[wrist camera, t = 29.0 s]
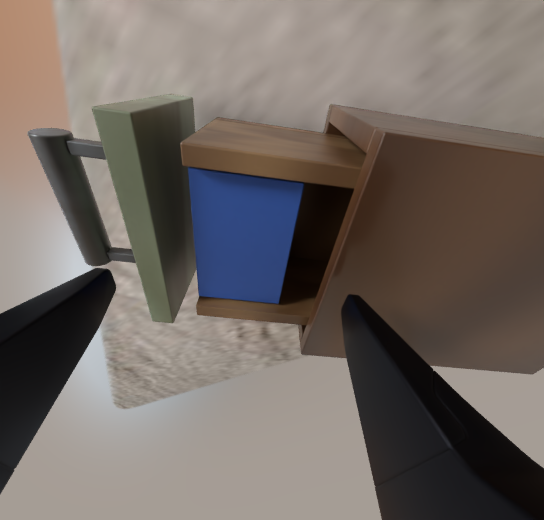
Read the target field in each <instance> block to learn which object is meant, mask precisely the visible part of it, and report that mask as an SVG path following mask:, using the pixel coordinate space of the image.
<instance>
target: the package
mask: <svg viewBox="0 0 544 520" xmlns="http://www.w3.org/2000/svg"><path fill="white" fill-rule="evenodd" d="M188 176H189V187H190V199H191V210H192V222H193V233H194V245H195V256H196V268H197V279H198V291H199V296H204V297H214V298H224V299H234V300H244V301H254V302H264V303H274V304H279V301H280V296H281V291H282V287H283V282H284V277H285V273H286V268H287V263H288V259H289V254H290V250H291V245H292V240H293V236H294V231H295V226H296V222H297V217H298V212H299V208H300V203H301V199H302V194H303V189H304V182H298V181H291V180H283V179H276V178H268V177H261V176H254V175H246V174H239V173H231V172H224V171H216V170H209V169H202V168H194V167H189V168H188Z"/></svg>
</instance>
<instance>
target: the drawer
mask: <svg viewBox="0 0 544 520" xmlns="http://www.w3.org/2000/svg"><path fill="white" fill-rule="evenodd" d="M92 111H93V114H94V118H95V121H96V125H97V128H98V132H99V135H100V139H101V142H98V141H91V140H84V139H76V138H74V137H73V134H72V133H71V132H70V131H68V130H64V129H57V128H41V129H33V130H30V131H28V136H29V138H30V140H31V142H32V145H33V147H34V149H35V151H36V154H37V156H38V158H39V160H40V163H41V164H42V167H43V169H44V171H45V174H46V176H47V178H48V180H49V182H50V185H51V187H52V189H53V191H54V194H55V196H56V198H57V200H58V202H59V205H60V207H61V209H62V211H63V214H64V216H65V218H66V220H67V222H68V225H69V227H70V229H71V231H72V233H73V236H74V238H75V240H76V242H77V245H78V247H79V249H80V251H81V253H82V256H83V258H84V260H85V262H86V263H87V264H88V265H91V266H101V265H105V264H107V263H109V262H111V261H112V260H113V261H122V262H132V263H136V265H137V268H138V272H139V275H140V279H141V282H142V286H143V290H144V293H145V297H146V300H147V304H148V307H149V311H150V314H151V318H152V321H155V322H165V323H174V321H175V318H176V316H177V313H178V311H179V309H180V306H181V304H182V302H183V299H184V297H185V294H186V292H187V290H188V287H189V285H190V282H191V280H192V278H193V275H194V273H195V271H196V256H195V245H194V233H193V222H192V210H191V199H190V187H189V176H188V168H189V167H194V168H202V169H209V170H216V171H224V172H231V173H239V174H246V175H254V176H261V177H268V178H276V179H283V180H291V181H298V182H304V189H303V194H302V199H301V203H300V208H299V212H298V217H297V222H296V226H295V231H294V236H293V240H292V245H291V250H290V254H289V259H288V263H287V268H286V273H285V277H284V282H283V287H282V291H281V296H280V301H279V304H274V303H264V302H254V301H244V300H234V299H224V298H214V297H204V296H199V299H198V302H197V305H196V309H197V315H203V316H214V317H224V318H235V319H245V320H256V321H267V322H277V323H288V324H298V325H307V322H308V320H309V317H310V314H311V311H312V308H313V305H314V302H315V300H316V297H317V294H318V291H319V288H320V285H321V283H322V280H323V277H324V274H325V271H326V268H327V265H328V263H329V260H330V257H331V254H332V251H333V248H334V246H335V243H336V240H337V237H338V234H339V231H340V228H341V226H342V223H343V220H344V217H345V214H346V211H347V209H348V206H349V203H350V200H351V197H352V194H353V191H354V189H355V186H356V183H357V180H358V177H359V174H360V172H361V169H362V166H363V163H364V160H365V157H366V153H365V152H364V151H363V150H361V149H360V148H359V147H358V146H357V145H356V144H354V143H353V142H352V141H351V140H350V139H349V138H347V137H346V136H340V135H333V134H326V133H319V132H313V131H306V130H299V129H293V128H286V127H279V126H273V125H266V124H259V123H253V122H246V121H239V120H233V119H226V118H219V117H218V118H216V119H215V120H213V121H211V122H210V123H209V124H207V125H206V126H204V127H203V128H201V129H200V130H198V131H197V132H195V122H194V106H193V98H192V97H187V96H181V95H174V94H168V95H162V96H156V97H150V98H144V99H137V100H131V101H125V102H119V103H112V104H106V105H100V106H94V107H92ZM80 156H83V157H90V158H98V159H105V160H107V163H108V167H109V170H110V174H111V177H112V181H113V184H114V188H115V191H116V195H117V198H118V202H119V205H120V209H121V212H122V216H123V219H124V223H125V226H126V230H127V233H128V237H129V240H130V244H131V247H132V249H124V248H115V247H111V244H110V241H109V238H108V235H107V232H106V229H105V227H104V224H103V221H102V218H101V215H100V212H99V209H98V206H97V203H96V201H95V198H94V195H93V192H92V189H91V186H90V183H89V180H88V178H87V175H86V172H85V169H84V166H83V163H82V160H81V157H80Z"/></svg>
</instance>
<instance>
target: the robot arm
mask: <svg viewBox="0 0 544 520" xmlns="http://www.w3.org/2000/svg"><path fill="white" fill-rule="evenodd" d="M115 291H116V284H115V281H114V279H113V276H112V273H111V271H110V270H109V269H103V268H95V269H93V270H91V271H89V272H87V273H85V274H83V275H81V276H78V277H76V278H74V279H72V280H70V281H68V282H66V283H64V284H62V285H60V286H57V287H55V288H54V289H51V290H49V291H47V292H45V293H43V294H41V295H39V296H37V297H34V298H32V299H30V300H28V301H26V302H24V303H22V304H20V305H18V306H16V307H14V308H11V309H9V310H7V311H5V312H3V313H1V314H0V494H1V492H2V490H3V489H4V487H5V485H6V484H7V482H8V480H9V479H10V477H11V475H12V474H13V472H14V469H15V468H16V467H17V465H18V463H19V461H20V460H21V458H22V456H23V455H24V453H25V451H26V450H27V448H28V446H29V444H30V443H31V441H32V440H33V438H34V436H35V434H36V433H37V431H38V429H39V428H40V426H41V424H42V423H43V421H44V419H45V418H46V416H47V414H48V412H49V411H50V409H51V408H52V406H53V404H54V402H55V401H56V399H57V397H58V395H59V394H60V392H61V391H62V389H63V387H64V385H65V384H66V382H67V381H68V379H69V377H70V375H71V374H72V372H73V370H74V369H75V367H76V365H77V364H78V362H79V360H80V358H81V357H82V355H83V354H84V352H85V350H86V348H87V347H88V345H89V343H90V342H91V340H92V338H93V337H94V335H95V333H96V331H97V330H98V328H99V326H100V324H101V322H102V320H103V318H104V315H105V313H106V311H107V309H108V306H109V304H110V302H111V300H112V298H113V295H114V293H115ZM341 318H342V328H343V338H344V347H345V353H346V358H347V362H348V367H349V371H350V375H351V380H352V384H353V389H354V394H355V398H356V403H357V407H358V411H359V417H360V421H361V426H362V430H363V434H364V439H365V444H366V448H367V453H368V457H369V462H370V467H371V471H372V475H373V480H374V485H375V486H376V487H375V490H376V494H377V499H378V503H379V508H380V513H381V517H382V520H544V468H543V467H541V466H540V465H538V464H537V463H536V462H534V461H533V460H532V459H531V458H530V457H528V456H527V455H526V454H525V453H524V452H522V451H521V450H520V449H519V448H518V447H517V446H516V445H515V444H513V443H512V442H511V441H510V440H509V439H508V438H507V437H506V436H504V435H503V434H502V433H501V432H500V431H499V430H498V429H497V428H495V427H494V426H493V425H492V424H491V423H490V422H489V421H487V420H486V419H485V418H484V417H483V416H482V415H481V414H480V413H478V412H477V411H476V410H475V409H474V408H473V407H472V406H471V405H470V404H469V403H468V402H467V401H465V400H464V399H463V398H462V397H461V396H460V395H459V394H458V393H457V392H456V391H455V390H454V389H453V388H452V387H451V386H450V385H449V384H448V383H447V382H446V381H445V380H444V379H443V378H442V377H441V376H440V375H438V373H437V372H435V371H433V369H432V368H431V367H430V366H429V365H428V364H427V362H426V361H425V360H424V359H423V358H422V357H421V356H420V355H419V354H418V353H417V352H416V351H415V350H414V349H413V348H412V347H411V346H410V345H409V344H408V343H407V342H406V341H405V340H404V339H403V338H402V337H401V336H400V335H399V334H398V333H397V332H396V331H395V330H394V329H393V328H392V327H391V326H390V325H389V324H388V323H387V322H386V321H385V320H384V319H383V318H382V317H381V316H380V315H379V314H378V313H377V312H376V311H375V310H374V309H373V308H372V307H371V306H370V305H369V304H368V303H367V302H366V301H365V300H364V299H363V298H362V297H361V296H359V295H354V294H349V295H348V296H347V297H346V299H345V302H344V304H343V306H342V308H341Z"/></svg>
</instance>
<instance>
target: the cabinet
mask: <svg viewBox="0 0 544 520" xmlns="http://www.w3.org/2000/svg"><path fill="white" fill-rule="evenodd" d="M323 133H326V134H333V135H340V136H346V137H347V138H349V139H350V140H351V141H352V142H353V143H354V144H356V145H357V146H358V147H359V148H360V149H361V150H363V151H364V152H365V153H366V157H365V160H364V163H363V166H362V169H361V172H360V174H359V177H358V180H357V183H356V186H355V189H354V191H353V194H352V197H351V200H350V203H349V206H348V209H347V211H346V214H345V217H344V220H343V223H342V226H341V228H340V231H339V234H338V237H337V240H336V243H335V246H334V248H333V251H332V254H331V257H330V260H329V263H328V265H327V268H326V271H325V274H324V277H323V280H322V283H321V285H320V288H319V291H318V294H317V297H316V300H315V302H314V305H313V308H312V311H311V314H310V317H309V320H308V322H307V325H298V326H299V337H300V347H301V354H302V355H314V356H326V357H337V358H346V353H345V347H344V338H343V328H342V318H341V308H342V306H343V304H344V302H345V299H346V297H347V296H348V295H349V294H354V295H359V296H361V297H362V298H363V299H364V300H365V301H366V302H367V303H368V304H369V305H370V306H371V307H372V308H373V309H374V310H375V311H376V312H377V313H378V314H379V315H380V316H381V317H382V318H383V319H384V320H385V321H386V322H387V323H388V324H389V325H390V326H391V327H392V328H393V329H394V330H395V331H396V332H397V333H398V334H399V335H400V336H401V337H402V338H403V339H404V340H405V341H406V342H407V343H408V344H409V345H410V346H411V347H412V348H413V349H414V350H415V351H416V352H417V353H418V354H419V355H420V356H421V357H422V358H423V359H424V360H425V361H426V362H427V364H428V365H430V366H441V367H453V368H465V369H477V370H489V371H499V372H511V373H523V374H534V373H536V372H537V371H539V370H541V369H542V368H544V138H541V137H535V136H528V135H522V134H516V133H510V132H503V131H497V130H491V129H484V128H478V127H472V126H465V125H459V124H453V123H446V122H440V121H434V120H427V119H421V118H415V117H408V116H402V115H396V114H389V113H383V112H377V111H370V110H364V109H358V108H351V107H345V106H339V105H332V104H331V105H330V107H329V111H328V115H327V120H326V124H325V128H324V132H323Z"/></svg>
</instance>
